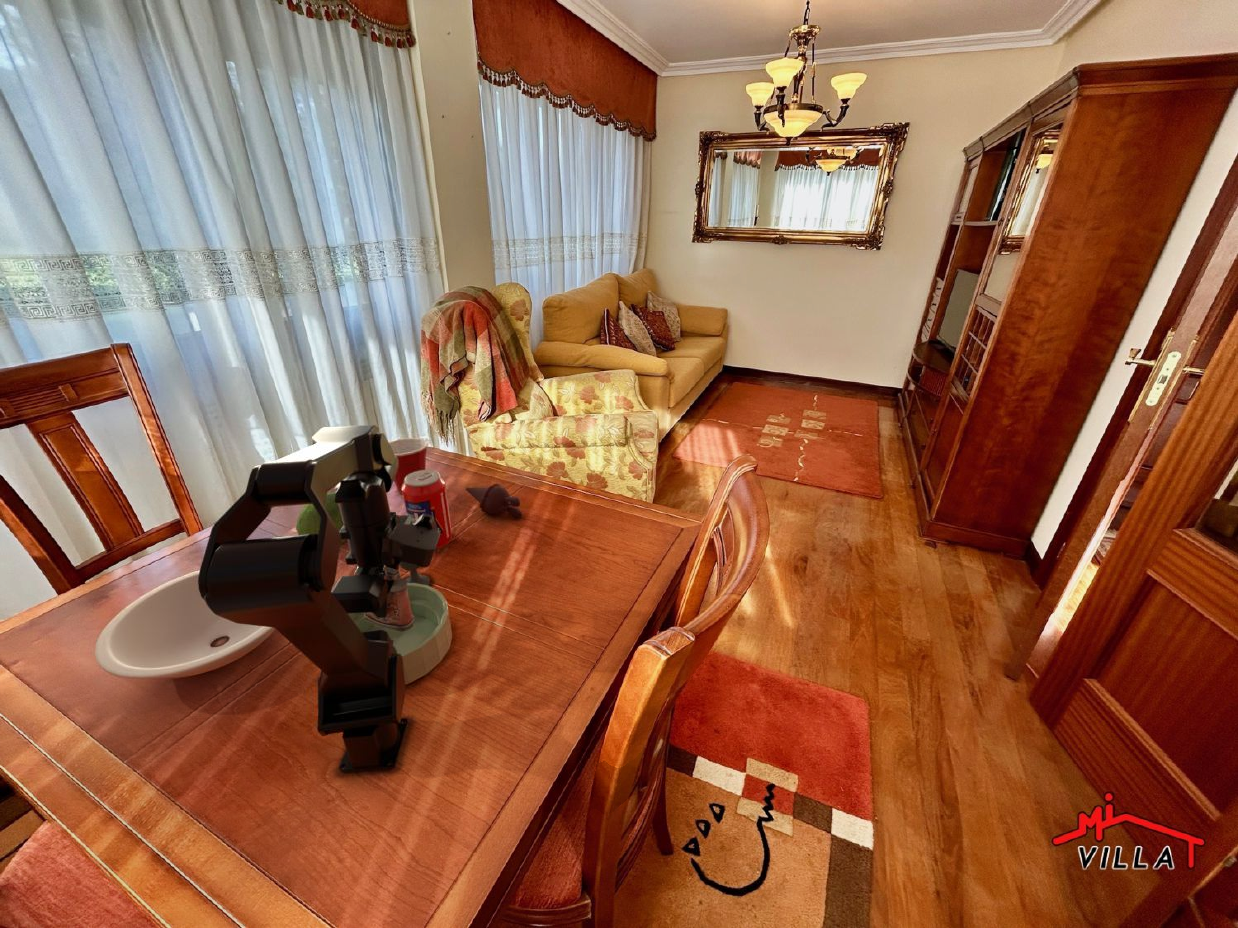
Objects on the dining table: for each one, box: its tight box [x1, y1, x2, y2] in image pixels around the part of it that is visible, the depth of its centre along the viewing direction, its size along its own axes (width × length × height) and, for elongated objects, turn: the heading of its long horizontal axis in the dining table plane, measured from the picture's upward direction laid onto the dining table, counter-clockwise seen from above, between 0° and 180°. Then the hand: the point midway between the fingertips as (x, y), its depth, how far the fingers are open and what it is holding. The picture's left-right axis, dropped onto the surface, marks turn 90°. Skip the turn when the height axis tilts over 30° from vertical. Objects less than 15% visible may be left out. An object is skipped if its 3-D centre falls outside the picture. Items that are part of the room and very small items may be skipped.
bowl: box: [348, 583, 453, 686], centre depth 76 cm, size 16×16×6 cm
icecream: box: [465, 483, 523, 519], centre depth 111 cm, size 7×7×15 cm
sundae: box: [399, 562, 431, 586], centre depth 87 cm, size 7×7×15 cm
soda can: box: [402, 469, 453, 550], centre depth 98 cm, size 8×8×15 cm
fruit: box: [295, 491, 348, 545], centre depth 100 cm, size 15×10×10 cm, turn 163°
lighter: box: [364, 567, 415, 632], centre depth 72 cm, size 8×3×10 cm, turn 72°
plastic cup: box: [388, 437, 429, 496], centre depth 118 cm, size 11×11×12 cm
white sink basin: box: [94, 569, 276, 680], centre depth 75 cm, size 24×24×7 cm
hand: (387, 606), depth 73 cm, fingers closed on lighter, 4 cm apart
